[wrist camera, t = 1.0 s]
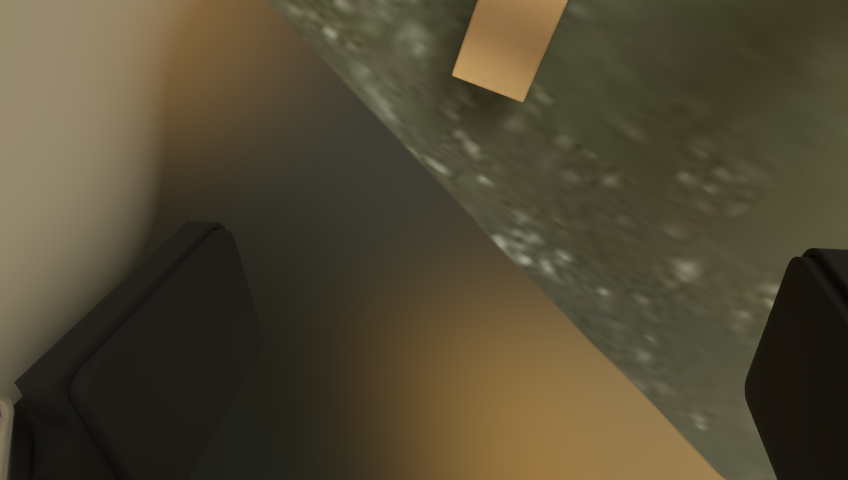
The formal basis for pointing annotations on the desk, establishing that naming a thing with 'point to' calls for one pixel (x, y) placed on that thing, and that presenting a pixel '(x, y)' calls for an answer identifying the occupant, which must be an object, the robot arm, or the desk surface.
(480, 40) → the tan rectangular brick
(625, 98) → the desk surface
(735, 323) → the desk surface
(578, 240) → the desk surface
